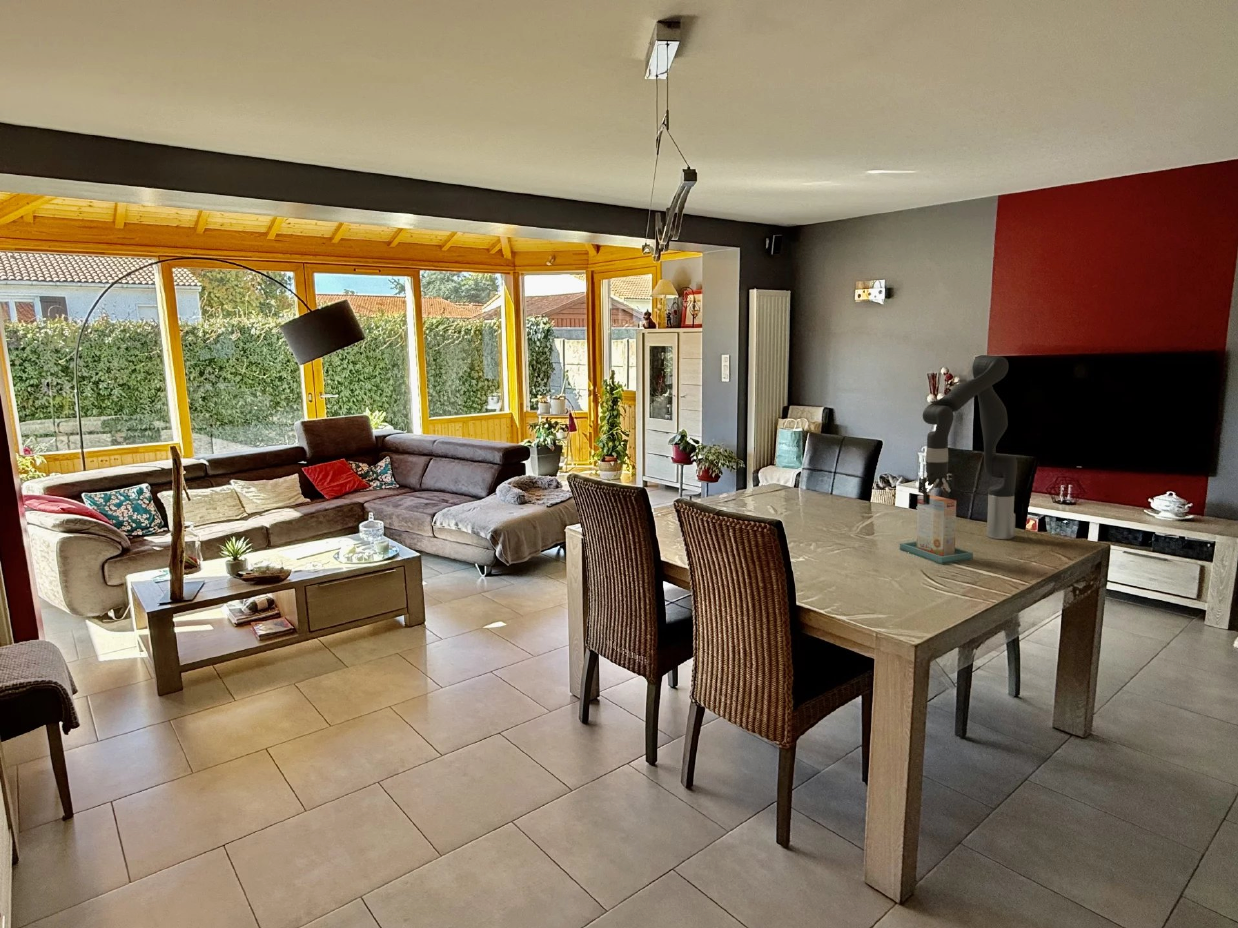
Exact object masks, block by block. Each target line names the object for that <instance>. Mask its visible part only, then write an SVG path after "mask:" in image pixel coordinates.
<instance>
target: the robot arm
mask: <svg viewBox="0 0 1238 928" xmlns="http://www.w3.org/2000/svg"><path fill="white" fill-rule="evenodd" d="M971 369H972V370H971V371H972V376H973V378H972V379H970V380H967V381H965V382H963V383H960V384H958V385H956V386H955V387H954V388H952V389H951V390H950V391H949V392H947V393H946V395H945V396H943V397H941V398H939V399H936V401H935V400H934V401H933V402H931V403H930V404H928V405H927V406H926V407H925V409H924V410H923V412H922V419H923V421H924V422H925V423H926V424H927V425H935V426H936V429H935V430H933V431H930V432H928V433H927V439H926V452H925V472H926V476H919V477H918V493H920V494H921V495H923V502H924V504H926V505H929V504H930V495H931V492H932V491H934V489H936V488H937V489H938V488H941V489H942V497H943V498H947V499H950V492H951V491H954V490H955V475H954V474H953V473H949V472H948V471H949V447H948V446H949V435H950V431H951V429H952V425H953V423H954V416H955V415H954V413H956V412H957V411H959V410H961V408H962V407H964V406H965V405H966V404H967V403H968V402H969V401H971V400H972V399H973V398H974V397H976V396H977V397H978V398H977V400H978V406H979V418H980V426H981V431H982V439H983V453H984V454H983V460H984V461H983V462H984V463H983V464H984V471H985V474H986V475H987V477H989V478H996V479H1003V482H1002V483H999V484H995V485H991V486H990V487H989V488H988V491H987V492H988V495H987V498H988V499H987V522H986V524H987V525H986V528H987V529H986V537H988V538H990V539H995V540H996V539H997V540H1010V539H1013V538H1015V535H1016V533H1015V532H1016V513H1015V512H1014V510H1015V492H1016V484H1017V482H1016V481H1017V480H1016V479H1017V471H1018V461H1017V458H1016V457H1015V456H1014V455H1009V454H1008V455H1007V454H997V451H996V447H997V444H998V442H999V441H1000V439H1001V438H1002V437H1003V435H1004V433H1005V432H1006V431H1007V428H1008V426H1009V424H1008V423H1009V421H1008V420H1009V419H1008V412H1007V407H1006V406H1005V404H1004V402H1003V401H1002V400H1001V398H1000V397H999V395H998V394H997V393H996V391H995V390H994V388H993V385H995V384H997V383H998V382H1000V381H1001V380H1003V379H1004V378H1005V376H1006V375H1007V374H1008V371H1009V362H1008V360H1007V358H1005V356H1004V357H1003V356H999V355H989V354H988V355H986V354H980V355H978V356H976V357H975V358H974V360H973V361H972V368H971Z"/></svg>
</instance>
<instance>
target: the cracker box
mask: <svg viewBox="0 0 1238 928" xmlns="http://www.w3.org/2000/svg"><path fill="white" fill-rule="evenodd" d="M929 495H930V504H929V505H926V504H924V502H923V494H921V495H920V494H919V495H917V507H916V508H917V509H916V510H917V512H916V516H917V518H916V541H917V548H918V549H921V550H924V551H927V552H930V553H933V554H936V555H939V556H949V555H955V547H956V529H957V528H956V527H957V525H956V524H957V522H956V521H957V500H955V499H952V498H949V499H947V498H943V496H942V497H941V496H937V495H933V494H929Z"/></svg>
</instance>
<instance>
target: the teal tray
mask: <svg viewBox="0 0 1238 928" xmlns="http://www.w3.org/2000/svg"><path fill="white" fill-rule="evenodd" d="M899 550H900V551H902V552H905V553H908V552H909V553H908V554H911V555H913V554H914V556H917V557H919V558H922V559H925V560H928V561H931V562H933V561H934V563H936V564H940V565H945V564H946V563H947V564H952V563H958V562H959V561H960V562H964V561H972V560H974V553H973V552H971V551H968V550H965V549H961V548H958V547H956V546H955V555H949V556H939V555H936V554H933V553H930V552H927V551H924V550H921V549H918V548H917V540H915V541H907V542H901V543H899Z"/></svg>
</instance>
